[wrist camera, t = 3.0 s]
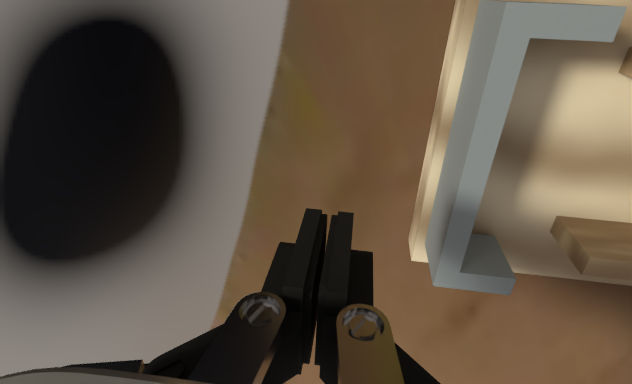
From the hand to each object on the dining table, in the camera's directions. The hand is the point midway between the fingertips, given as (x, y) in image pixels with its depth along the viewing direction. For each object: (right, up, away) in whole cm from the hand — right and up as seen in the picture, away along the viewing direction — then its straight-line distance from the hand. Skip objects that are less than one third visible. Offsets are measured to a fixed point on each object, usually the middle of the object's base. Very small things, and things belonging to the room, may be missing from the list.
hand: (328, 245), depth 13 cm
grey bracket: (+9, +5, +8) cm, 13 cm away
